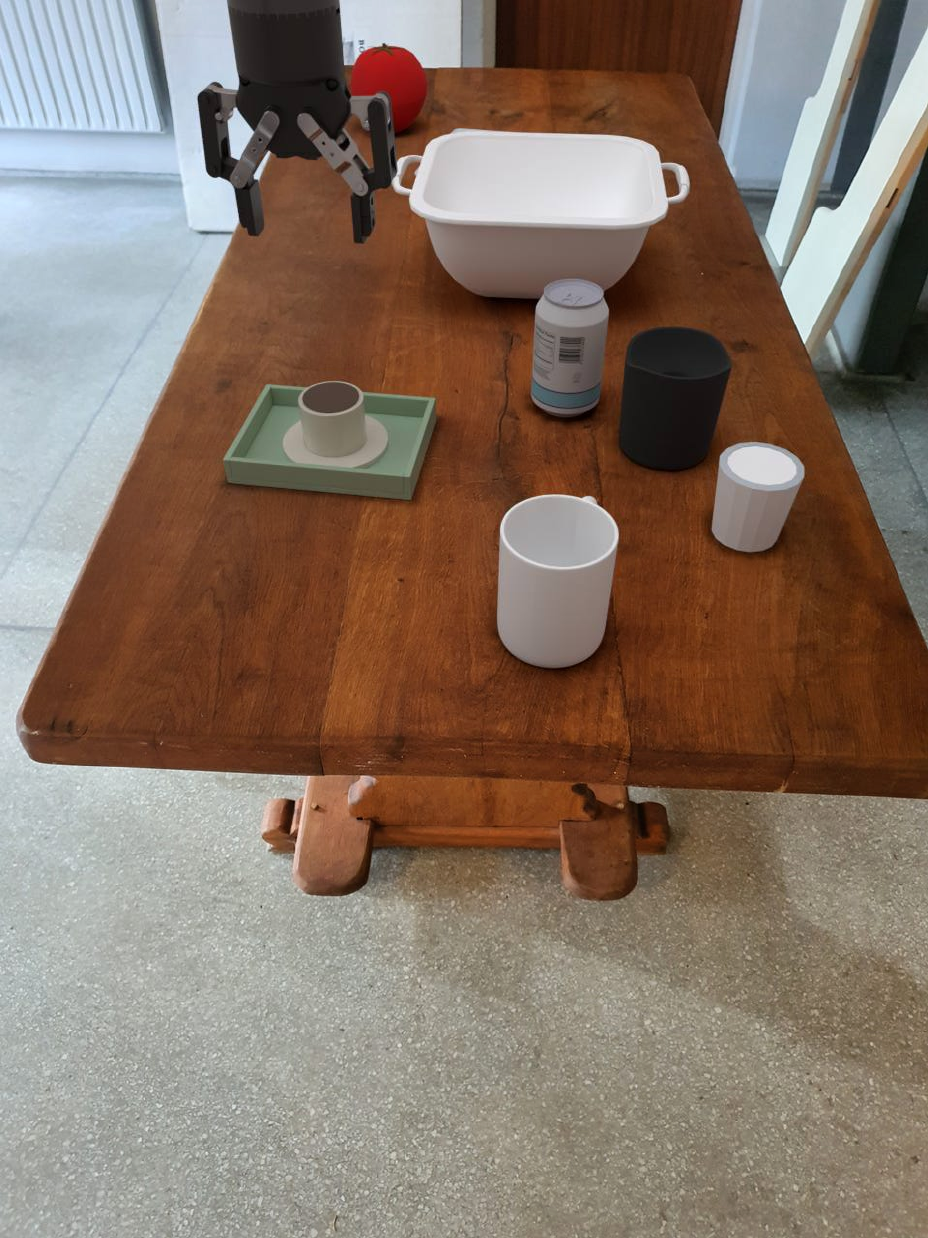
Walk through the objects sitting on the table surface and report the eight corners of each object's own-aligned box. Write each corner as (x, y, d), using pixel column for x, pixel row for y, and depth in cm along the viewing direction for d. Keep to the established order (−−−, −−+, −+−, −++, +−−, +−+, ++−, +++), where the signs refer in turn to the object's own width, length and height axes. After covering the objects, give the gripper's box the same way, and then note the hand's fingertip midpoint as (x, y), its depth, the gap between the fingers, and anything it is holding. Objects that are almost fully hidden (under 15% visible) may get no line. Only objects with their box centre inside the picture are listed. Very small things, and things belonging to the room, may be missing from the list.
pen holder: (730, 442, 91) (752, 348, 84) (680, 487, 86) (699, 391, 79) (647, 408, 96) (662, 316, 89) (595, 449, 91) (606, 354, 84)
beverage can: (610, 398, 97) (623, 286, 89) (578, 430, 93) (589, 316, 85) (551, 379, 100) (559, 269, 91) (517, 409, 96) (522, 296, 87)
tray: (227, 483, 87) (222, 459, 85) (270, 406, 96) (266, 383, 94) (411, 500, 85) (409, 476, 83) (436, 420, 94) (435, 397, 92)
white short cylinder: (791, 519, 83) (812, 452, 78) (775, 565, 79) (796, 498, 74) (714, 499, 85) (730, 432, 80) (695, 543, 81) (710, 476, 76)
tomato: (348, 140, 153) (341, 52, 144) (359, 117, 161) (352, 32, 152) (424, 142, 152) (422, 53, 143) (431, 118, 160) (429, 33, 152)
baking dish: (665, 233, 126) (680, 131, 118) (681, 336, 106) (701, 223, 97) (412, 225, 129) (408, 124, 120) (381, 324, 108) (374, 212, 99)
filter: (270, 470, 87) (261, 421, 84) (299, 411, 94) (293, 364, 91) (375, 480, 86) (371, 431, 83) (397, 420, 93) (395, 373, 90)
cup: (478, 649, 72) (480, 547, 65) (539, 556, 79) (547, 456, 72) (581, 685, 69) (594, 583, 62) (633, 585, 77) (650, 484, 70)
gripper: (160, 3, 62) (206, 249, 73) (374, 12, 60) (387, 262, 71) (200, -21, 67) (237, 212, 78) (398, -13, 65) (406, 223, 77)
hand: (309, 236), depth 75 cm, fingers open, 8 cm apart
